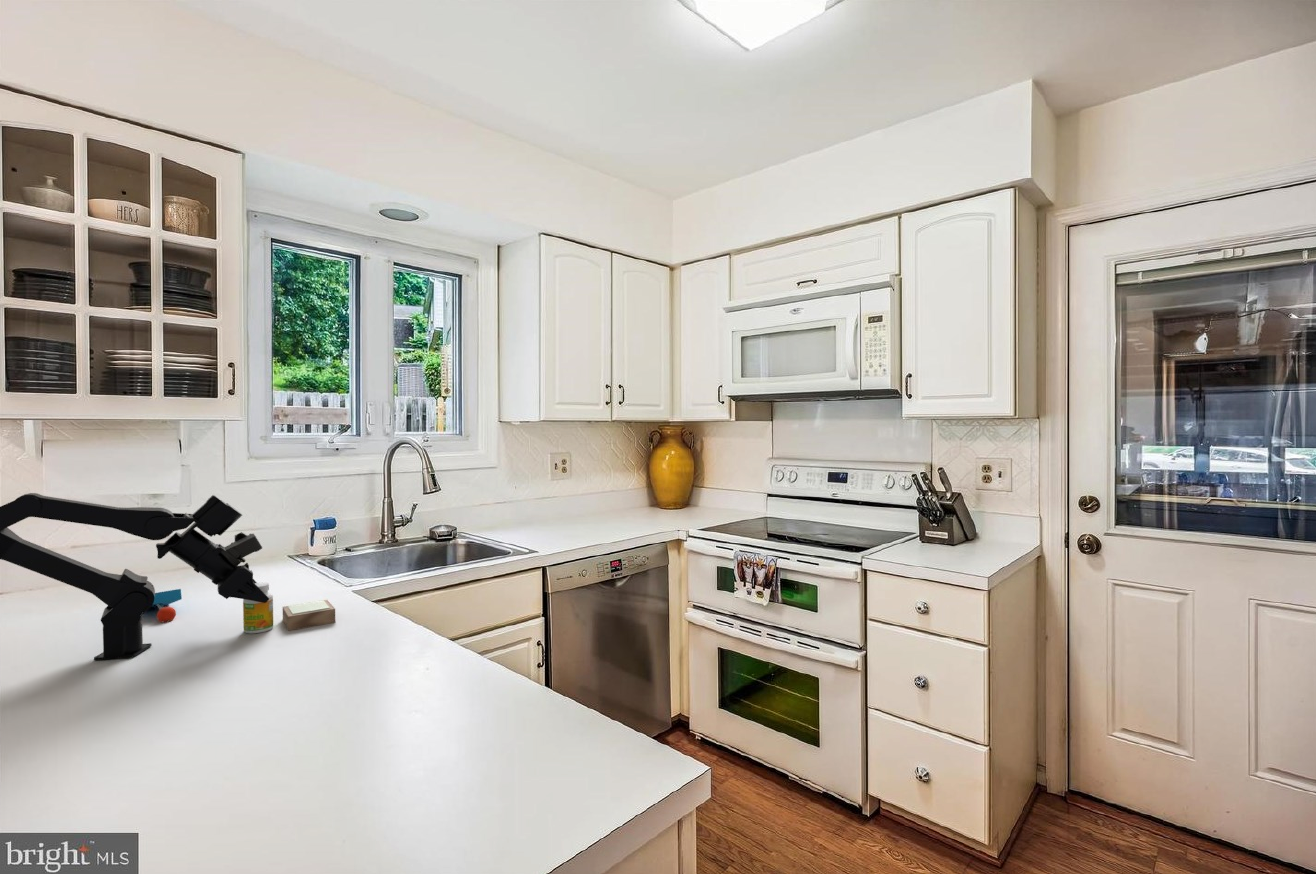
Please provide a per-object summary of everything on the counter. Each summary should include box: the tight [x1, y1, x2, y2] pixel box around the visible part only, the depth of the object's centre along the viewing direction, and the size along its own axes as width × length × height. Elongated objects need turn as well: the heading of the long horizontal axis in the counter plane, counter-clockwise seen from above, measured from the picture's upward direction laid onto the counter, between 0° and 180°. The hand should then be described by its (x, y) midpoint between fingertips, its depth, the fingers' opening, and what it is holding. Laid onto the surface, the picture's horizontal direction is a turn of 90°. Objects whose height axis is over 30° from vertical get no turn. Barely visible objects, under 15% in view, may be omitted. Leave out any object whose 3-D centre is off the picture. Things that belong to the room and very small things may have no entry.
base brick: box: [282, 599, 336, 631], centre depth 139 cm, size 9×9×3 cm
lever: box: [151, 588, 183, 623], centre depth 145 cm, size 7×7×18 cm
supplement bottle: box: [242, 582, 274, 635], centre depth 133 cm, size 5×5×10 cm
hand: (265, 598), depth 134 cm, fingers closed on supplement bottle, 5 cm apart
